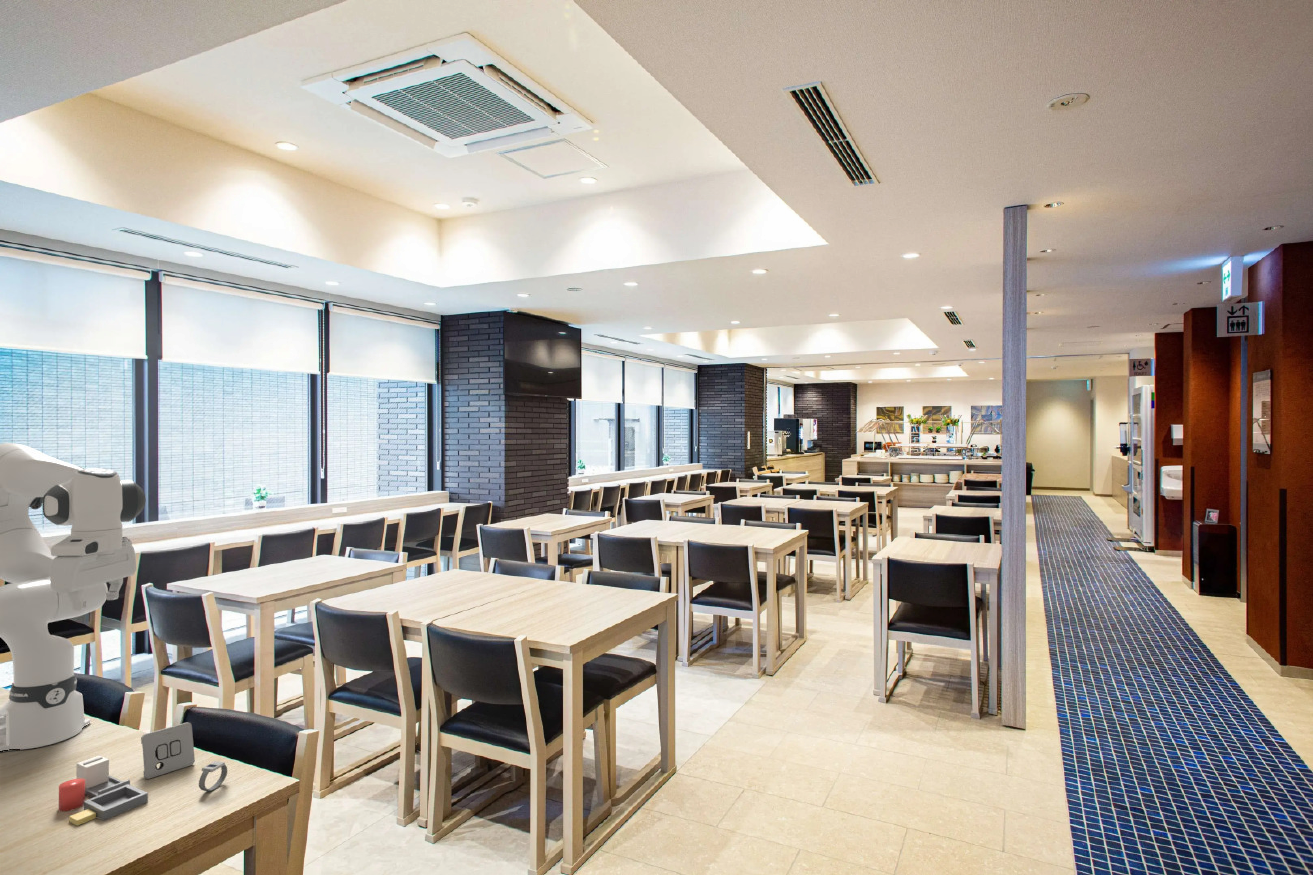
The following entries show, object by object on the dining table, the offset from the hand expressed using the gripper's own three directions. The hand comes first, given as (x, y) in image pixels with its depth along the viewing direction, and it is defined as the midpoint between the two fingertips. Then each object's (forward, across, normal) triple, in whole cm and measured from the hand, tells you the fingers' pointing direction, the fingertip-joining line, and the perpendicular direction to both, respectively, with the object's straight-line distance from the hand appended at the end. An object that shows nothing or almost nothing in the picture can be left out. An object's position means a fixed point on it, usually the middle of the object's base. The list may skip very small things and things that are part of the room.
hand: (96, 604), depth 150 cm
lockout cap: (+37, +15, +7) cm, 40 cm away
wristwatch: (+37, +9, +31) cm, 49 cm away
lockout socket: (+37, +17, +15) cm, 43 cm away
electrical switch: (+37, 0, +15) cm, 40 cm away
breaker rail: (+37, +8, +7) cm, 38 cm away
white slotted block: (+37, +7, +4) cm, 38 cm away
